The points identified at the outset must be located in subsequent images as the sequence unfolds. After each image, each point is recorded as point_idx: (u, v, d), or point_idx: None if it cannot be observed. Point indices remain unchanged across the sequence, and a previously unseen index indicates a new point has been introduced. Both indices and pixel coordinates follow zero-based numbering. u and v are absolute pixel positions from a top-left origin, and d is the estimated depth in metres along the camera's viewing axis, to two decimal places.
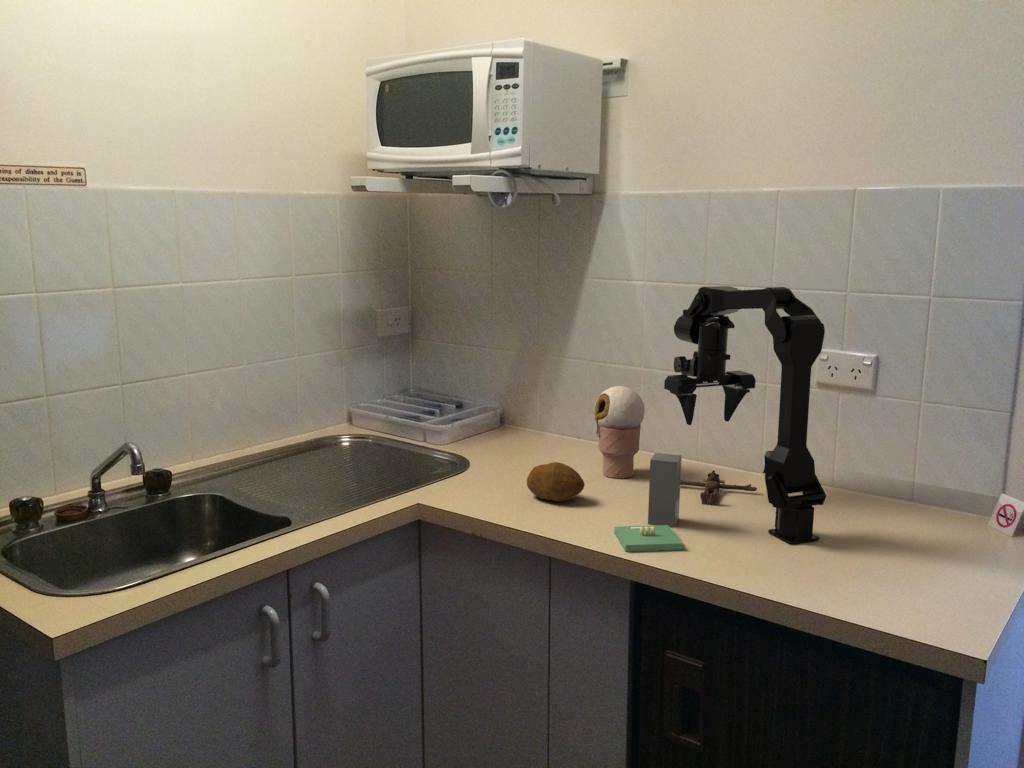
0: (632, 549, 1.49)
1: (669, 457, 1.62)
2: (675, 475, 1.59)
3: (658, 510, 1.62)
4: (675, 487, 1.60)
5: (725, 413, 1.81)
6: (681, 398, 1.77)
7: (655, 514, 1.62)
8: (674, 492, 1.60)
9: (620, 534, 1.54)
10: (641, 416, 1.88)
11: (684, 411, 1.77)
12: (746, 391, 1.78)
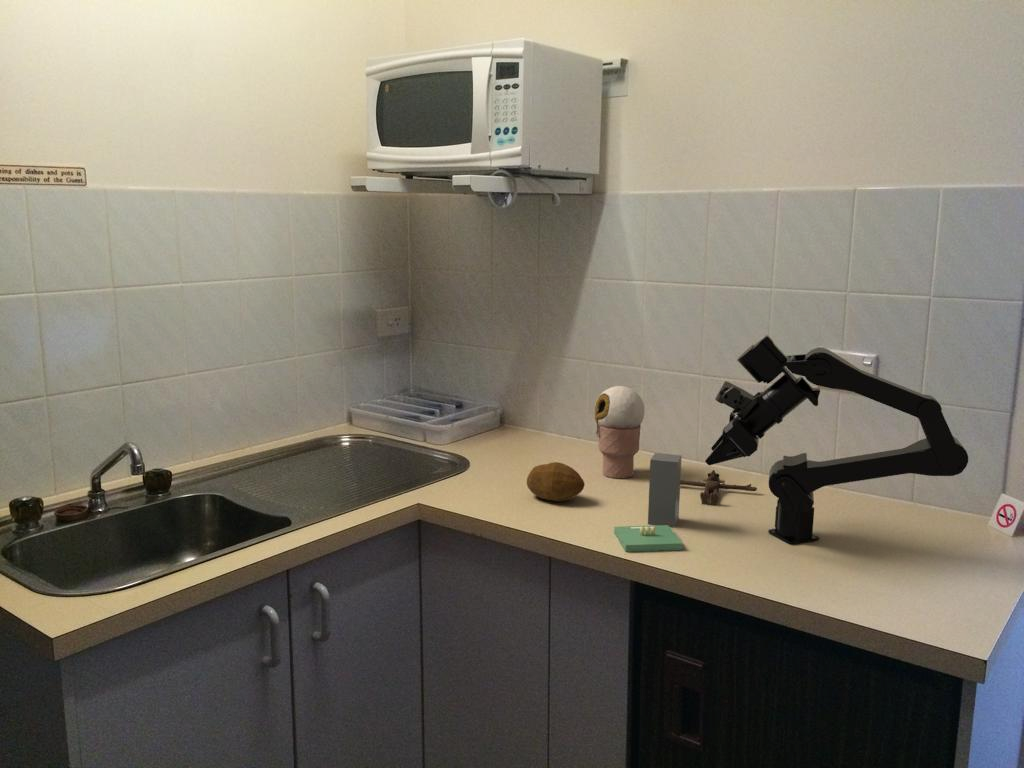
0: (632, 549, 1.49)
1: (669, 457, 1.62)
2: (675, 475, 1.59)
3: (658, 510, 1.62)
4: (675, 487, 1.60)
5: (718, 444, 1.63)
6: (726, 442, 1.51)
7: (655, 514, 1.62)
8: (674, 492, 1.60)
9: (620, 534, 1.54)
10: (641, 416, 1.88)
11: (716, 453, 1.53)
12: None
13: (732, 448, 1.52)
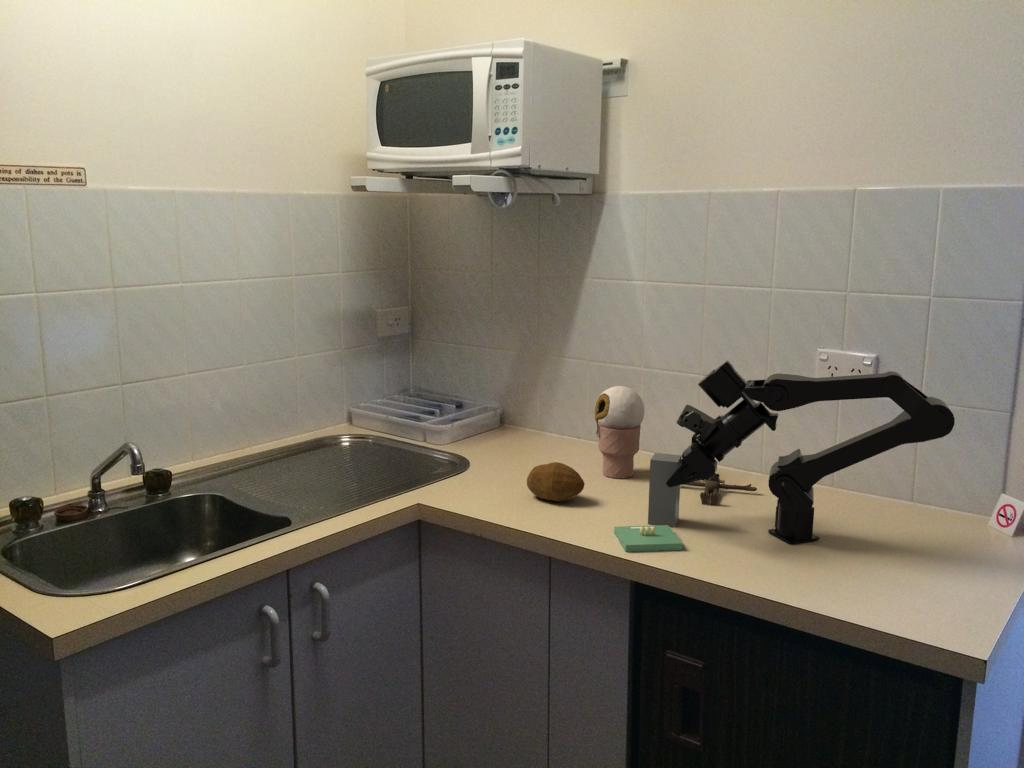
0: (632, 549, 1.49)
1: (669, 457, 1.62)
2: None
3: (658, 510, 1.62)
4: (675, 487, 1.60)
5: None
6: (685, 466, 1.55)
7: (655, 514, 1.62)
8: (674, 492, 1.60)
9: (620, 534, 1.54)
10: (641, 416, 1.88)
11: (676, 476, 1.56)
12: (713, 458, 1.66)
13: (691, 471, 1.55)
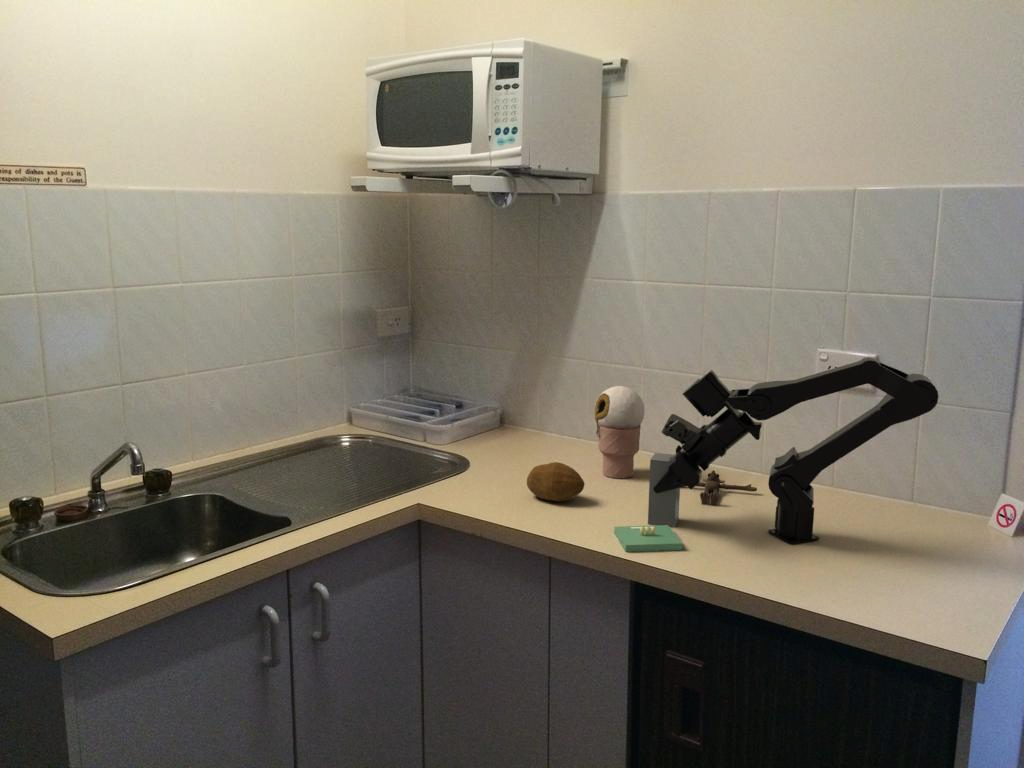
0: (632, 549, 1.49)
1: (669, 457, 1.62)
2: None
3: (658, 510, 1.62)
4: None
5: None
6: (672, 472, 1.58)
7: (655, 514, 1.62)
8: (674, 492, 1.60)
9: (620, 534, 1.54)
10: (641, 416, 1.88)
11: (663, 482, 1.59)
12: None
13: (678, 477, 1.58)
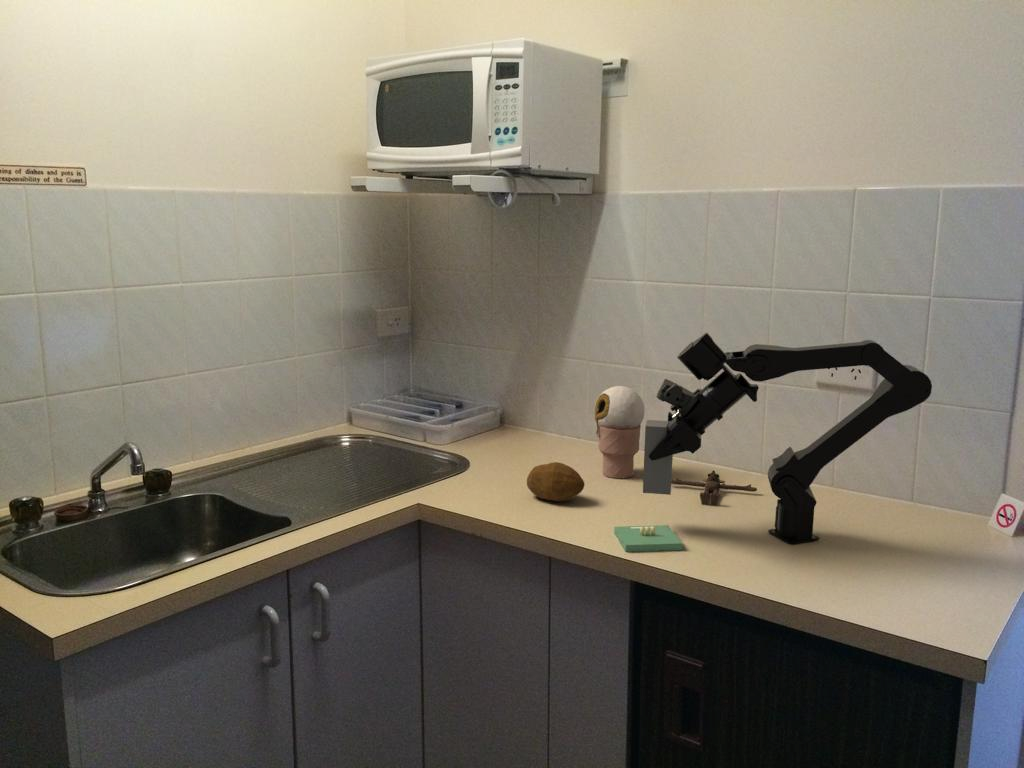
0: (632, 549, 1.49)
1: (663, 423, 1.58)
2: None
3: (653, 478, 1.57)
4: None
5: None
6: (669, 438, 1.54)
7: (650, 482, 1.58)
8: (670, 458, 1.56)
9: (620, 534, 1.54)
10: (641, 416, 1.88)
11: (660, 448, 1.55)
12: None
13: (675, 443, 1.54)
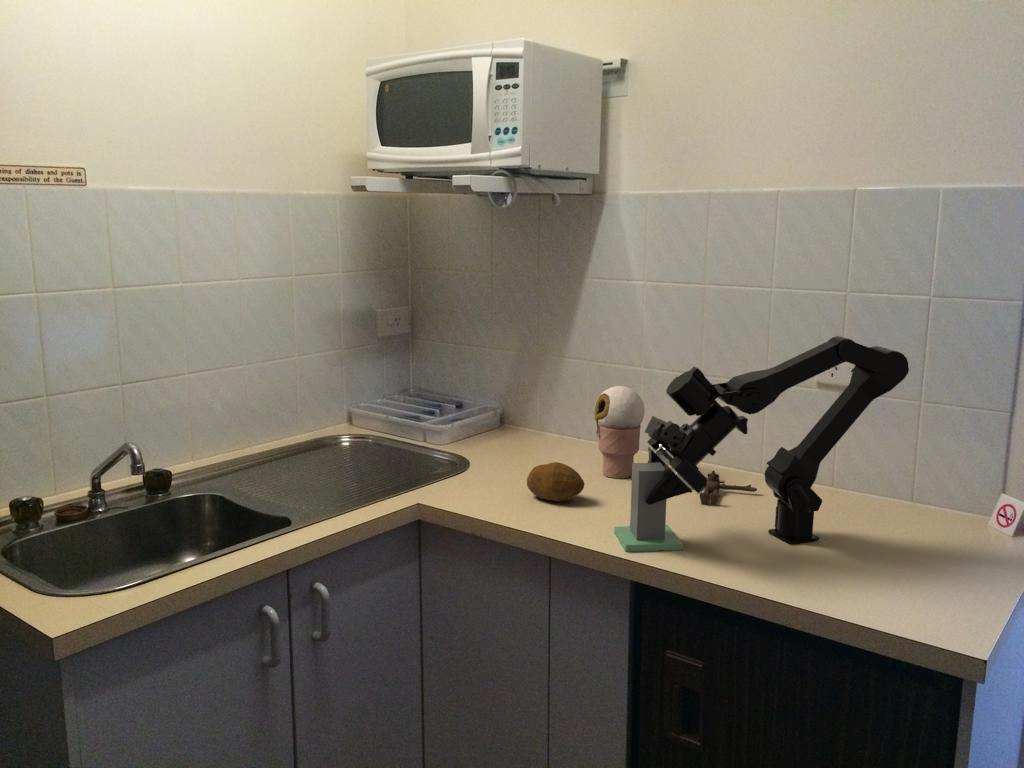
0: (632, 549, 1.49)
1: (653, 466, 1.52)
2: None
3: (647, 524, 1.51)
4: None
5: None
6: (669, 480, 1.46)
7: (644, 528, 1.51)
8: (664, 502, 1.50)
9: (620, 534, 1.54)
10: (641, 416, 1.88)
11: (658, 492, 1.47)
12: None
13: (674, 485, 1.47)
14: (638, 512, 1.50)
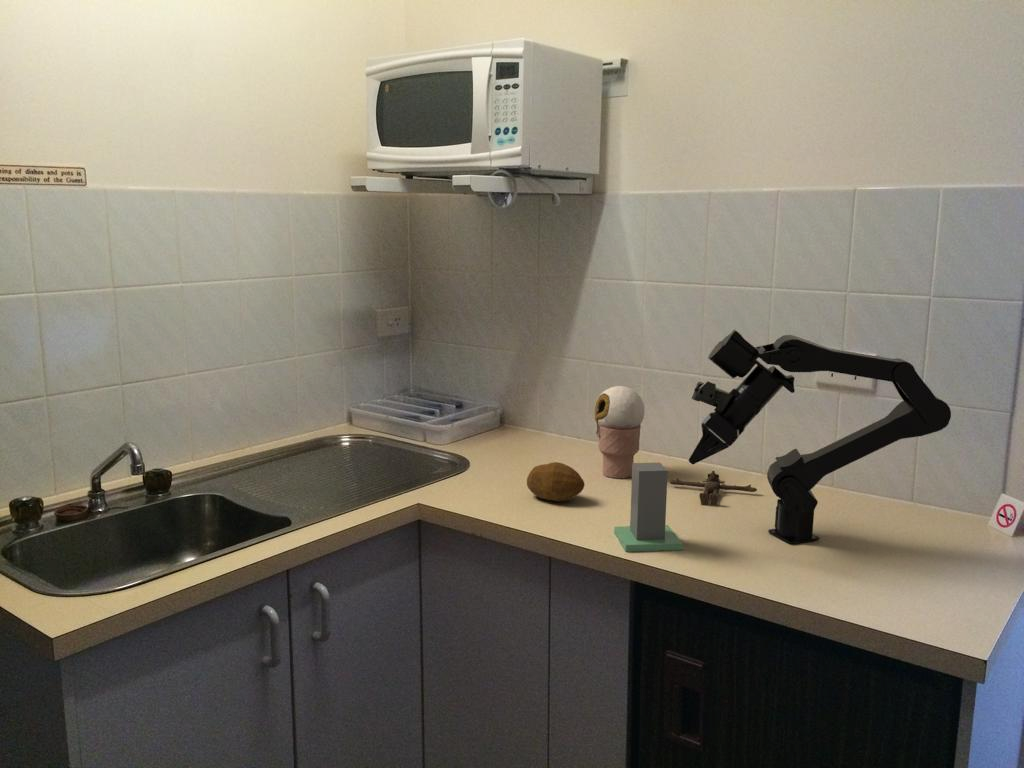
0: (632, 549, 1.49)
1: (653, 466, 1.52)
2: (665, 484, 1.50)
3: (647, 524, 1.51)
4: (665, 497, 1.50)
5: None
6: (706, 437, 1.50)
7: (644, 528, 1.51)
8: (664, 502, 1.50)
9: (620, 534, 1.54)
10: (641, 416, 1.88)
11: (698, 450, 1.51)
12: None
13: (713, 442, 1.50)
14: (638, 512, 1.50)
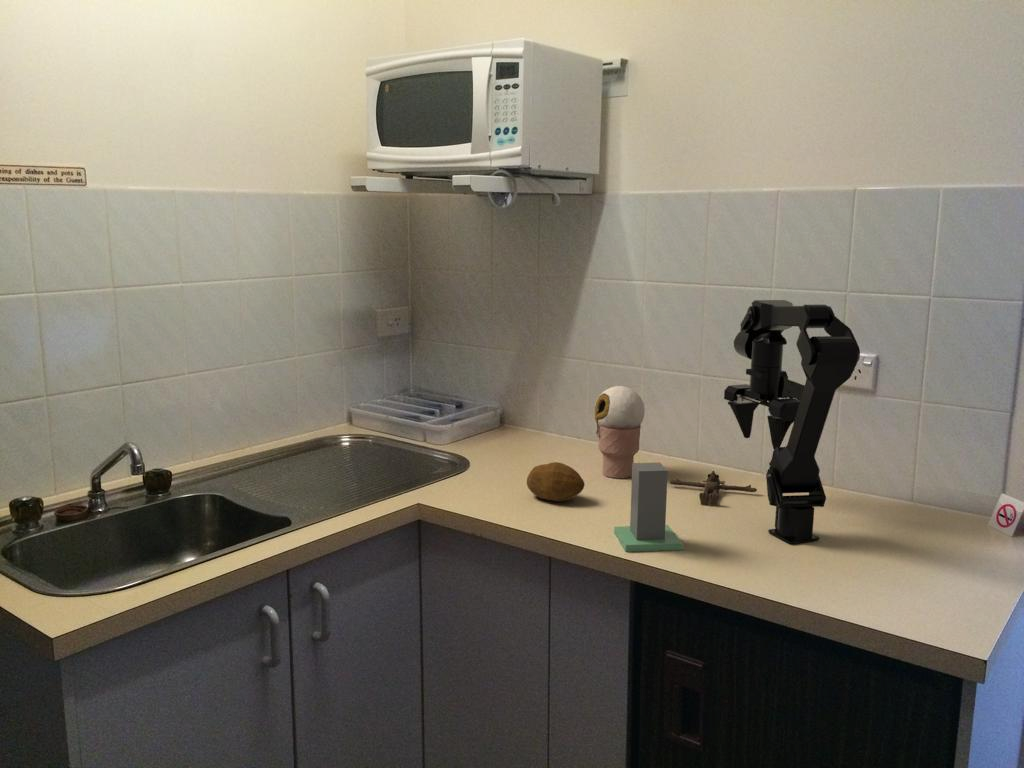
0: (632, 549, 1.49)
1: (653, 466, 1.52)
2: (665, 484, 1.50)
3: (647, 524, 1.51)
4: (665, 497, 1.50)
5: None
6: None
7: (644, 528, 1.51)
8: (664, 502, 1.50)
9: (620, 534, 1.54)
10: (641, 416, 1.88)
11: None
12: (773, 418, 1.62)
13: None
14: (638, 512, 1.50)
